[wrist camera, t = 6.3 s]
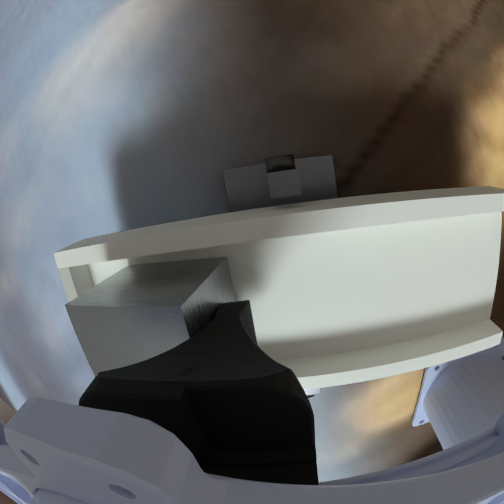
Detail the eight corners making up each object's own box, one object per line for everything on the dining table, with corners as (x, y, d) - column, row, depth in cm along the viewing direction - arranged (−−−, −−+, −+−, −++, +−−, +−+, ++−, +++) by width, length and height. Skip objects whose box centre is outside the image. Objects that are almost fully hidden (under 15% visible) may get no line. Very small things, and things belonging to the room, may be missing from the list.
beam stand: (328, 153, 16) (355, 147, 10) (343, 340, 19) (363, 393, 14) (224, 168, 16) (202, 168, 11) (257, 351, 19) (252, 408, 14)
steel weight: (227, 256, 12) (181, 306, 8) (246, 357, 13) (218, 428, 9) (128, 265, 13) (65, 304, 9) (156, 353, 14) (112, 407, 10)
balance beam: (488, 185, 11) (519, 192, 9) (477, 321, 13) (499, 343, 11) (84, 239, 14) (53, 252, 12) (125, 360, 16) (106, 386, 14)
